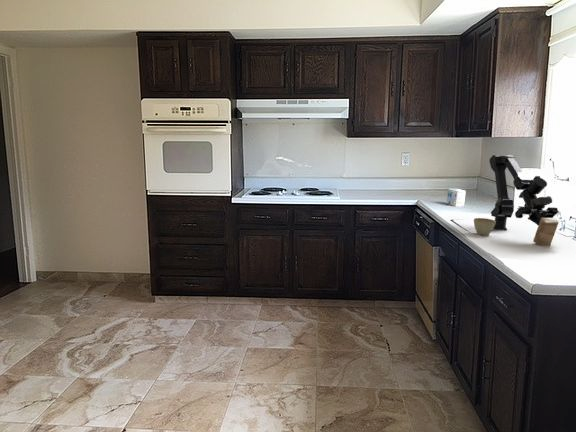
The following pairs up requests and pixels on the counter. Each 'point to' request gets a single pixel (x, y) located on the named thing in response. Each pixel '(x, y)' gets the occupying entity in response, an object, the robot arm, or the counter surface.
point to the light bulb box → (456, 197)
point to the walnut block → (545, 231)
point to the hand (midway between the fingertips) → (543, 227)
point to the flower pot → (484, 225)
